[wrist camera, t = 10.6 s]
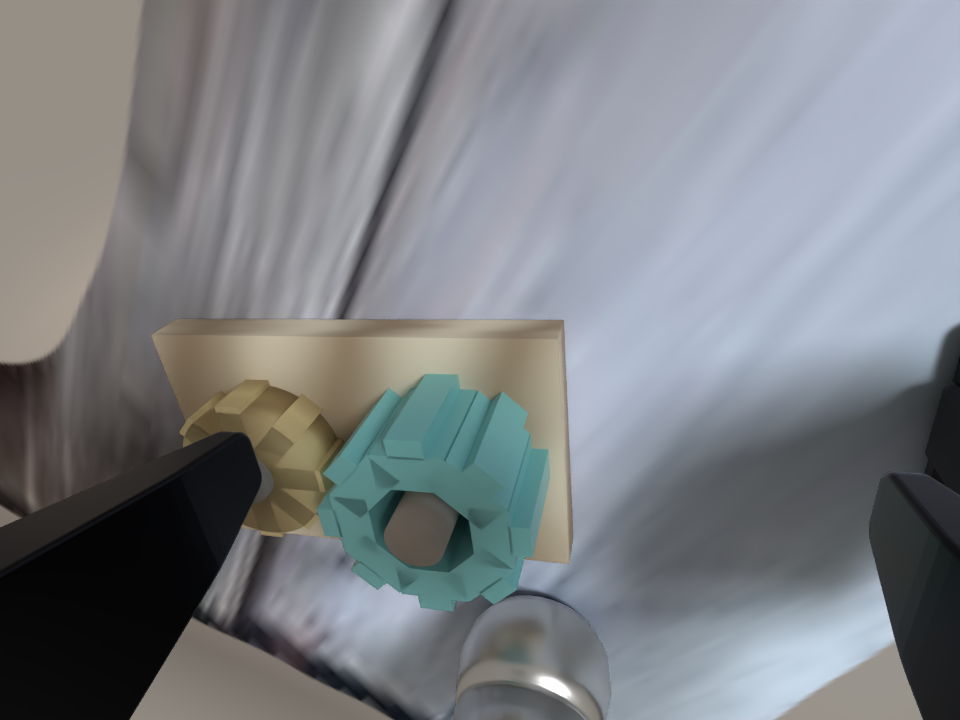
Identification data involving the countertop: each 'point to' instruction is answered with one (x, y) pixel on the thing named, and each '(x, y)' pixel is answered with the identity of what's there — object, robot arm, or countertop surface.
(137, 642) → the robot arm
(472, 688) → the plastic bottle
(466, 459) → the teal gear
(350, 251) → the countertop surface
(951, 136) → the countertop surface
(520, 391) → the gear board
